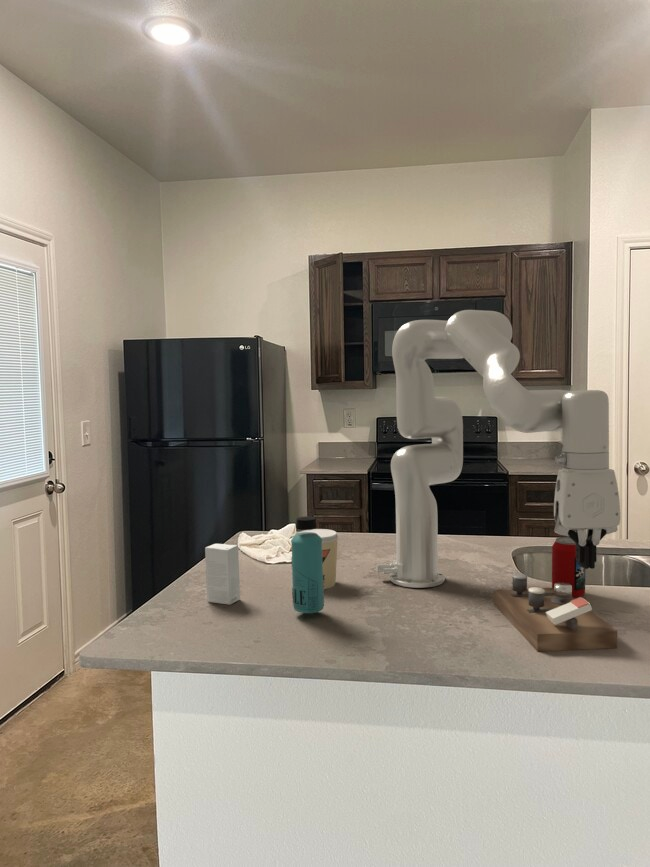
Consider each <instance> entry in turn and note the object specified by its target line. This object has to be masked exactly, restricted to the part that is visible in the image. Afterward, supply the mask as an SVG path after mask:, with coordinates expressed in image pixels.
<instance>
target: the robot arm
mask: <svg viewBox="0 0 650 867" xmlns="http://www.w3.org/2000/svg"><path fill="white" fill-rule="evenodd" d="M512 338H513V327H512V322H510V320H509V318H508V317H507V316H506V315H504V314H503V313H501V312H500V311H499V312H498V311H494V310H481V309H479V310H478V309H464V310H460V311H457V312H455V313H454V314H453V315H451V316H450V318H448V320H441V319H418V320H417V319H416V320H411V321H408V322H406V323H404V324H403V325H401V326H400V327H399V329H398V330H397V331H396V332H395V335H394V338H393V341H392V345H391V346H392V347H391V352H392V353H391V354H392V356H391V357H392V361H393V366H394V372H395V378H396V379H395V380H396V383H395V384H396V386H395V387H396V390H395V391H396V398H395V399H396V426H397V431H398V433H399V434H400V435H401V436H402V437H403V438H406V439H409V440H419V439H420V440H421V439H431V443H423V444H412V445H411V444H410V445H406V446H403V447H401V448H400V449H398V450H396V451H395V453H393V455H392V458H391V460H390V472H391V477H392V482H393V488H394V495H395V496H394V497H395V533H396V534H395V540H396V542H395V543H396V545H395V546H396V547H395V548H396V554H395V555H396V558H393V561H390V562H389V563H376V565H375V566H376V567H375V568H376V573H382V574H383V575H387V574H388V575H389V574H390V575H389V580H390V581H391V582H392V583H393V584H395V585H397V586H400V587H405V588H411V589H412V588H414V589H415V588H416V589H421V588H422V589H424V588H425V589H426V588H433V587H438V586H441V585H442V584H443V583H444V582H445V574H444V573H443V572H441V571H439V569H438V568H439V566H438V565H439V555H438V554H439V553H438V552H439V551H438V550H439V548H438V542H439V540H438V538H439V537H438V535H439V534H438V532H439V531H438V529H439V528H438V526H439V525H438V503H437V500H436V498H435V496H434V493H433V492H432V490H431V488H430V486H433V485H439V484H447V483H450V482H453V481H455V480H456V479H458V477H459V476H460V475H461V472H462V469H463V464H464V433H463V432H464V423H463V422H464V420H463V414H462V411H461V409H460V406H459V405H458V403H457V402H456V401H455V400H454V399H452V398H450V397H447V396H435V380H434V376H433V372H432V370H431V368H430V366H429V365H428V363H427V362H426V360H428V359H429V360H430V359H433V360H434V359H435V360H439V359H440V360H447V359H448V360H454V359H455V360H456V359H457V360H458V359H465V361H466V362H468V364H470V366H471V367H472V368H473V369H474V370H475V371H476V372H477V373H478V374H479V375H480V376H481V377H482V378H483V379H482V380H483V381H482V383H483V384H482V387H483V391H484V395H485V396H484V397H485V398H486V401H487V403H488V405H489V407H490V408H491V409H492V410H493V412H495V413H496V414H497V416H498V417H500V419H501V420H502V421H503V422H504V423H506V425H508V426H509V427H510V428H512V429H514V430H515V431H517V432H521V433H525V434H531V433H533V434H534V433H541V432H555V431H556V432H557V431H561V449H562V450H561V452H560V455H558V456H557V455H556V456H555V457H554V463H555V465H559V466H560V465H561V467H562V468H561V469H559V470H558V473H557V477H556V483H555V488H554V489H555V490H554V499H553V500H554V501H553V518H554V523H555V524H554V525H555V526H554V531H553V532H554V533H556V534H558V535H560V536H563V537H570V538H571V539H572V540H573V542H575V543H576V561H577V563H578V565H579V566H581V567H583V568H584V569H586V570H588V569H592V570H593V569H595V567H596V565H595V564H596V563H597V546H599V545H600V542H601V540H602V539H603V538H605V536H606V535H610V534H613V533H617V531H618V529H619V528H618V526H620V523H621V505H620V504H621V502H620V494H619V487H618V482H617V477H616V476H617V475H616V472H615V470H614V469H611V468H610V409H609V408H610V405H609V404H610V403H609V402H610V401H609V396H608V394H607V393H606V392H605V391H603V390H599V389H597V390H596V389H593V390H592V389H583V390H568V389H567V390H566V389H534V390H533V389H532V390H529V389H527V388H525V386H523V385H522V384H521V383H520V382H519V381H517V379H516V378H515V377H514V376H513V375H512V373H513V372H514V371H515V369H516V368H517V367H518V365H519V363H520V358H521V355H520V350H519V349H518V347H517V346H516V345H515V344H513V343H512V342H511V341H512ZM585 531H586V533H585Z"/></svg>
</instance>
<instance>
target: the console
mask: <svg viewBox="0 0 650 867" xmlns="http://www.w3.org/2000/svg"><path fill="white" fill-rule="evenodd" d="M541 588H542V589H544V590H545V592H544V607H540V610H534V609H533V607H532V606H530V605H529V591H528V589H529V588H527V591H525V592H523V594H522V595H519V594H517V591H514V590H513V589H512V588H511V589H509V588H508V589H494V590H493V605H494V606H495V607H496V609H498V610H499V611H500V612H501V614H502V615H503V616H504V617H505V618H506V619H507V620H508V622H510V623H511V625H513V627H514V628H515V629H516V630H517V631H518V632H519V633H520V634H521V635H522V636H523V637H524V639H526V640H527V642H528V643H529V644H530V645H531V646H532V647H533V649H534V650H536V652H553V651H555V652H556V651H573V650H574V651H576V650H597V649H600V650H601V649H602V650H603V649H617V648H618V630H617V629H616V628H614V626H612V625H610V624H609V623H608V622H606V621H605V620H604V619H602V618H601V617H600V616H598V615H597V614H596V613H595V612H593V610H591V611H588V612H586V613H583V614H581V615H578V616H576V617H573V618H571V619H568V620H566V621H563V622H561V623H558V624H556V625H555V624H554V623H553V622H551V621H550V620H549V619H548V617H547V614H546V612H547V611H550V610H552V609H555V608H557V607H560V606H562V605H565V604H567V603H570V601H572V600H574V599H576V598H573V597H572V596H571V597H569V598H561V597H557V596H555V595H554V588H552V587H541Z"/></svg>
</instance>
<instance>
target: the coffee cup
mask: <svg viewBox="0 0 650 867" xmlns="http://www.w3.org/2000/svg"><path fill="white" fill-rule="evenodd" d="M302 532H313V533H316V534H318V535H319V536H320V537H321V538H322V565H323V578H324V579H323V581H324V584H323V590H327V589H331V588H332V587H335V586H336V579H337V578H336V577H337V559H338V556H337V555H338V539H339V535H338V533H337V531H335V530H333V529H327V528H326V529H325V528H316V529H312V530H301V531H300V532H299V533H302Z"/></svg>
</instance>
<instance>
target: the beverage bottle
mask: <svg viewBox="0 0 650 867" xmlns="http://www.w3.org/2000/svg"><path fill="white" fill-rule="evenodd" d="M295 522H296V523H295V529H296V530H299V531H300V530H301V532H302V531H305V530H312V529H318V528H317V519H316V517H314V516H307V515H306V516H299V517H297V518H296V520H295ZM290 544H291V555H290V556H291V557H290V558H291V559H290V560H291V566H290V567H291V570H292V572H291V573H292V574H291V575H292V577H291V579H292V587H291V588H292V589H291V595H292V598H291V600H292V604H291V605H292V607H293V610H294V611H295V612H297V613H301V614H302V613H303V614H313V613H314V614H315V613H318V612H321V611H322V610H324V606H326V605H325V597H326V596H325V590H324V589H323V584H324V581H323V579H324V578H323V565H322V538H321V537H320V536H319V535H318V534H316V533H313V532H302V533H300V532H298V533H296V534H295V535H294V536H293V537H291V540H290Z"/></svg>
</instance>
